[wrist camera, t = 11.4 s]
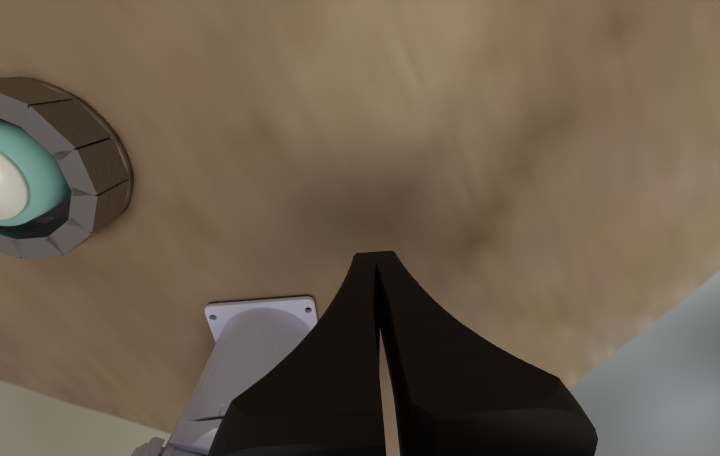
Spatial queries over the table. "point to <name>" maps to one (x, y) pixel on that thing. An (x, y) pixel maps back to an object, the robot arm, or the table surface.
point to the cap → (27, 177)
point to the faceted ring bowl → (66, 167)
